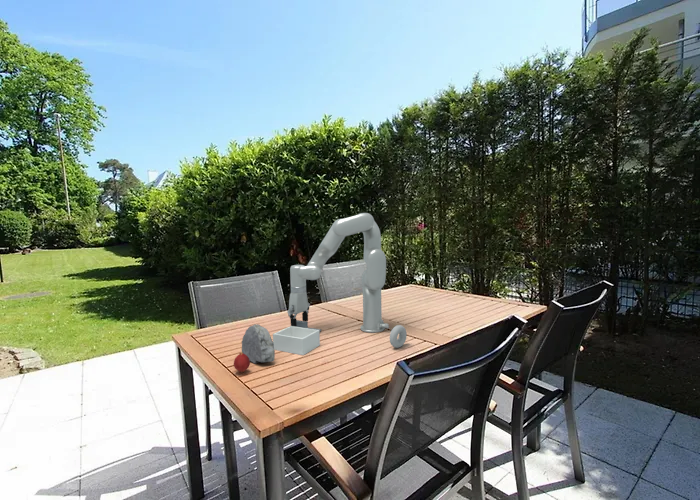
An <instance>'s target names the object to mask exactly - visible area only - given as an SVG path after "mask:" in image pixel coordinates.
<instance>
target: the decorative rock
mask: <svg viewBox="0 0 700 500" xmlns="http://www.w3.org/2000/svg"><path fill="white" fill-rule="evenodd" d="M244 333H245V334H244V335H243V336H242V340H241V352H242V353H243V354H245V355H247V356H248V358H249V360H250V363H251V362H252V363H253V364H259V363H270V362H271V363H272V362H274V361H275V358H276V357H275V356H276V354H275V351H276V350H274V344H273V338H272V336H271V335H270V334H271V333H270V332H269V330H268V329H267V328H266V327H264V326H261V325H260V324H252V325H250V326H249V327H248V328H247V329H245V332H244Z"/></svg>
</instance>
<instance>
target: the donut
mask: <svg viewBox="0 0 700 500" xmlns="http://www.w3.org/2000/svg"><path fill="white" fill-rule="evenodd" d="M407 336H408V334H407V329H406V328H405V327H404V325H402V324H397V325H394V327H393V328H392V329H391V331H390V333H389V343H390V345H391V346H392V347H393V348H395V349H398V348H401V347H403V346H404V345H405V343H406V340H407Z"/></svg>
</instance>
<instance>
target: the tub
mask: <svg viewBox="0 0 700 500" xmlns="http://www.w3.org/2000/svg"><path fill="white" fill-rule="evenodd" d="M320 333H321V332H319V330H314V329H308V328H301V327H295V326H291V325H290V326H288V327H285V328H284V329H281V330H279V331H276V332H275V333H272V341H273V344H274V350H275V351H279V352H284V353H291V354H294V355H300V356H304V355H306V354H308V353H309V352H311V351H314V349H316V348H318V347H319V346H320V345H321V341H320V340H321V339H320V337H321V336H320Z"/></svg>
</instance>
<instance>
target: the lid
mask: <svg viewBox="0 0 700 500" xmlns="http://www.w3.org/2000/svg"><path fill="white" fill-rule="evenodd" d="M296 321H297V326H296V327H301V328H308V329H314V330H319V333H321V331H322V329H320V328H315V327H308V326H309V325H308V322H309V321H303V320H298V319H296Z"/></svg>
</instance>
